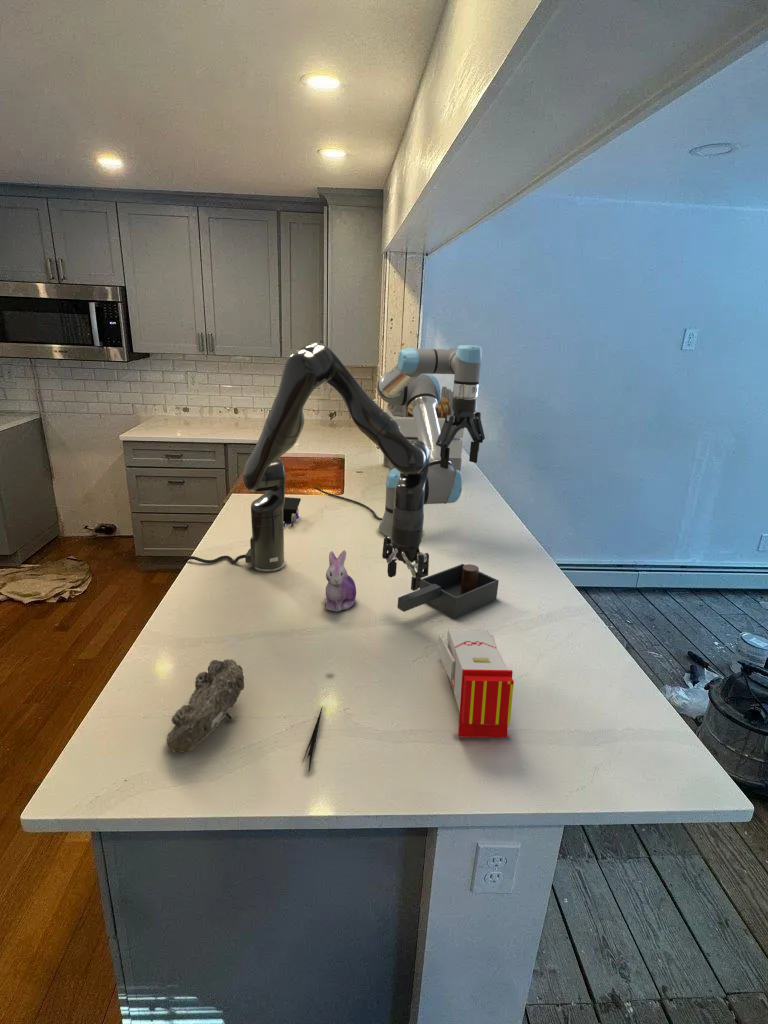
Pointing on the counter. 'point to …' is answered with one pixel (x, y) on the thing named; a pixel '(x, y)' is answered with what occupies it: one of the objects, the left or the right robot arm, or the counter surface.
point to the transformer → (442, 410)
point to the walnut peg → (469, 578)
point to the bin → (451, 593)
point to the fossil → (206, 705)
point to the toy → (478, 682)
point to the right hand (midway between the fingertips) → (458, 464)
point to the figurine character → (290, 510)
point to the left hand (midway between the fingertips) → (403, 582)
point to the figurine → (339, 584)
